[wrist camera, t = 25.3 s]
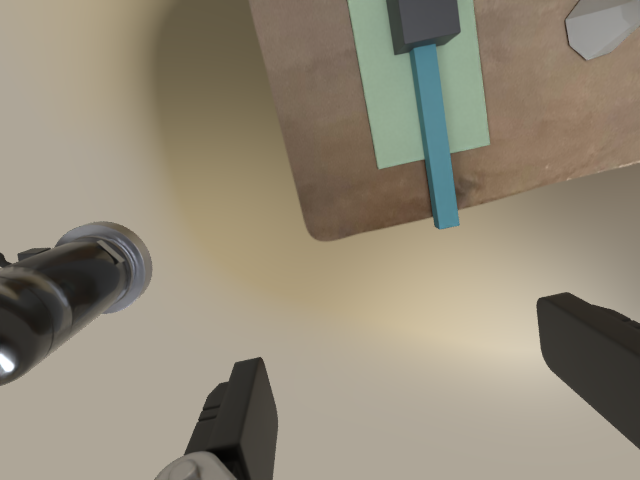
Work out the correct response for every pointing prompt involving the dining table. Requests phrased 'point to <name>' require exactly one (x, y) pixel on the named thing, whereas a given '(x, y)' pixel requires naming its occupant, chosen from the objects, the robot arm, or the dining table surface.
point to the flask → (601, 25)
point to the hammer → (429, 90)
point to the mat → (399, 93)
